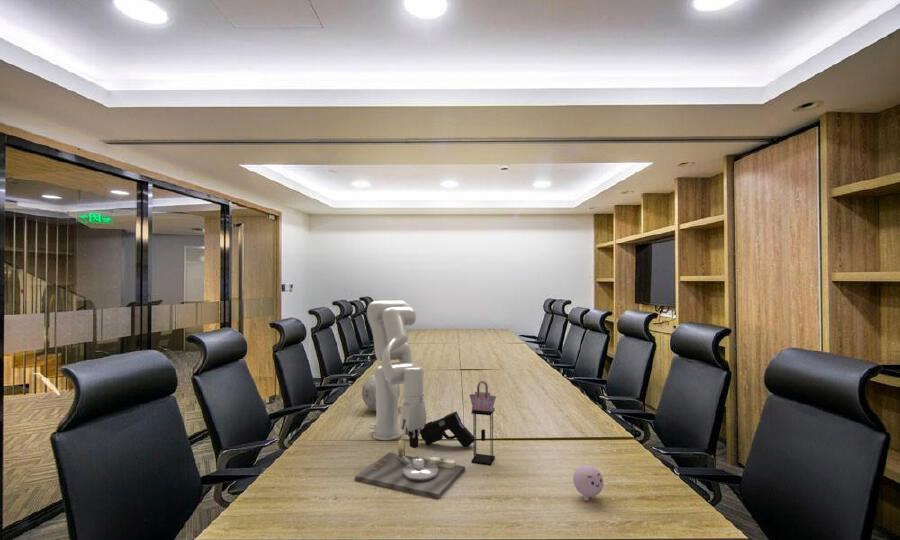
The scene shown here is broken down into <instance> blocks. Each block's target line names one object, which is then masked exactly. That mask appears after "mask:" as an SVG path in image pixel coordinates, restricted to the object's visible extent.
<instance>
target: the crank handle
mask: <svg viewBox="0 0 900 540" xmlns="http://www.w3.org/2000/svg"><path fill="white" fill-rule="evenodd" d="M397 449H398V451H397V453H395V454H396V457H397V458H399V459H400V461H401V462H402V463H404V464H405V465H406V466H405V467H404V470H403V471H404V477H405V478H407V479H409V480H412V481H427V480H431V479H433V478H435V477H436V476H437V475H438V466H437V465H435V464H433V463H430V462H424V459H425V457H424V456H421V455H420V456H413V457H414V458H413V461H411V460H410V459H408V458H406V457H405V455H406V440H405V439H399V440H398V448H397Z"/></svg>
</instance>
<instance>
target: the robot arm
mask: <svg viewBox="0 0 900 540" xmlns="http://www.w3.org/2000/svg"><path fill="white" fill-rule="evenodd" d="M366 315H367V319H368V323H369V325H370V328H371V331H372V336H373V346H374V354H375V358H376V359H377V361H381V364H379V365H377V366H376V367H375V369H374V371H373V374H374V378H375V384H376V411H375V412H376V416H375V417H376V420H375V421H376V423H374V422H371V423H370V425H369V429H370V430H374V432H372V437H373V439H375V440H379V441H392V440H396V439H399V438H400V437H402V434H403V435H405V436H408V437H409V447H411V448H412V449H417V448H419V437H420V436H421V435H420V431H421V430H422V429H423V428H424V425H425V424H427V423H426V422H427V413H426V412H427V411H426V405H425V401H424V397H425V393H424V369H423V367H422V366H420V365H418V363H416V362H413V360H412V351H411V346H410V344H409V341H408V340H409V335H408V333H407V331H408V330H407V328H406V326H413V325H414V324H416V321H417V316H416V315H417V314H416V311H415V309H414V308H413V307H412V305H411V304H409V303H408V302H406V300H405V301H404V300H402V299H390V300H389V299H386V300H385V299H383V300H381V299H380V300H375V301H371V302H370V303H369V304H368V306H367V312H366ZM397 360H398V362H392V361H397ZM396 384H399V385H402V384H403V403H402V405H401V410H400V419H399V398H398V394H397V392H396V391H395V390H394V388H393V387H392V386H393V385H396ZM399 420H400V422H399ZM399 424H400V426H399ZM399 427H400V429H401V430H400V429H399Z"/></svg>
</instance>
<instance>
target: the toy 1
mask: <svg viewBox="0 0 900 540" xmlns="http://www.w3.org/2000/svg"><path fill="white" fill-rule="evenodd" d="M446 431H450V432H451V433H452V434H453V435H452V436H451V435H448V434H447V433H446ZM419 436H420V437H421V439H422V441H424V443H425V445H426V446H430V445H432V444H434V443H436V442H438V441H441V440H443V438H445V439H446V440H453V439H456V440H457V441H458V442H459V444H460V445H461V446H462V447H463V448H464V449H468V448H469V446H471V445H472V444H474V434H472V433H471V432H470V430H469V429H468V428H467V427H466V426H465V424H463V422H462V420H461V417H460V416H459V414H458V411H453V412H452V413H448V414H447V415H444V416H443V417H442V418H439V419H437V420H433V421H429V422H427V423H426V424H425V425H424V428H423V429H422V430H421V431H420V435H419Z"/></svg>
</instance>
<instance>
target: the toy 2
mask: <svg viewBox="0 0 900 540" xmlns="http://www.w3.org/2000/svg"><path fill="white" fill-rule="evenodd" d="M572 481H573V486H574V487H575V489H576V491H577V492H578V493H579V494H580V495H582V497H583V501H585V502H588V501H589V499H592V500H594V499H596V496H598V495H599V494H600V493H601V492H602V491H603V487H604V478H603V475H602V474H601V472H600V471H599V469H598V468H596V467H595V466H594V465H590V464H583V465H580V466H578V467H577V468H576V469H575V471H574V472H573V476H572Z"/></svg>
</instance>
